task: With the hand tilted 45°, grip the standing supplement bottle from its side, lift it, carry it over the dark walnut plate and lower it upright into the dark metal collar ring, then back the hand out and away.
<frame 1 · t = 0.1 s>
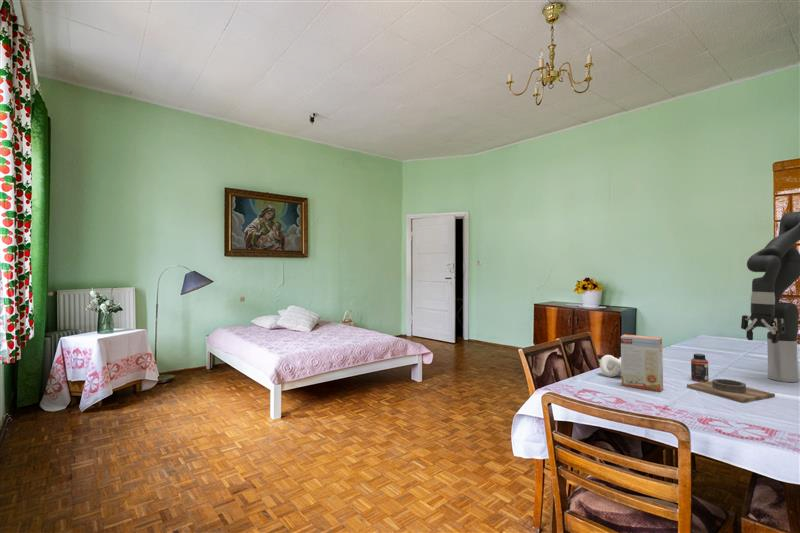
hand: (761, 341, 167), 17 cm above the table, tool pointing down, fingers open, 8 cm apart
cracker box: (642, 387, 164), on the table
supplement bottle: (699, 381, 172), on the table
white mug: (616, 377, 180), on the table
collar plate: (729, 392, 156), on the table
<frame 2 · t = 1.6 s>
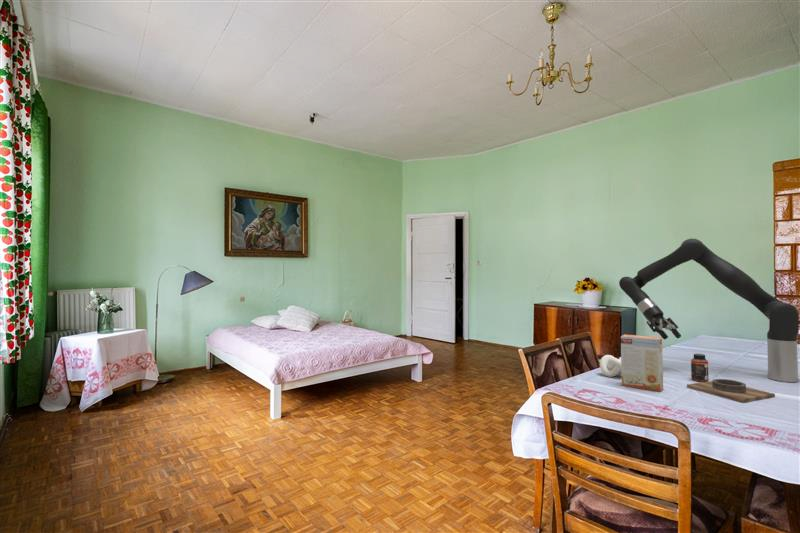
hand: (673, 337, 182), 17 cm above the table, tool tilted 45°, fingers open, 8 cm apart
nothing on the table moved.
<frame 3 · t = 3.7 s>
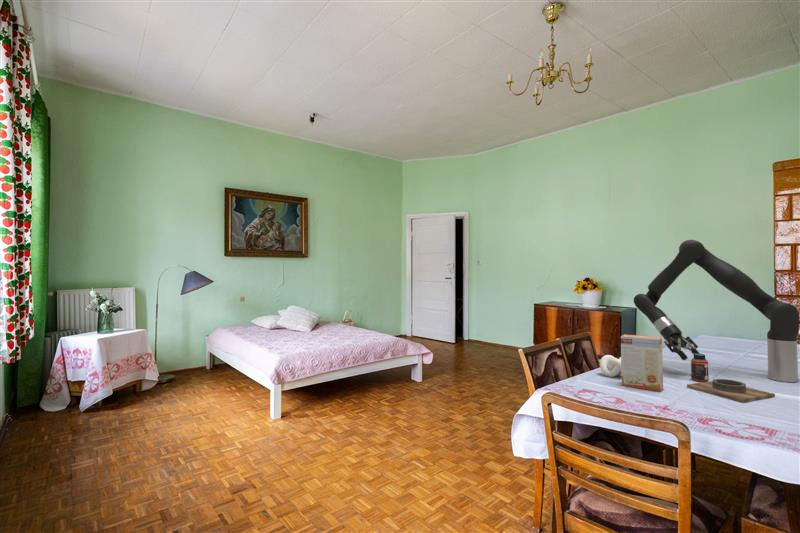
hand: (692, 358, 175), 9 cm above the table, tool tilted 45°, fingers open, 8 cm apart
nothing on the table moved.
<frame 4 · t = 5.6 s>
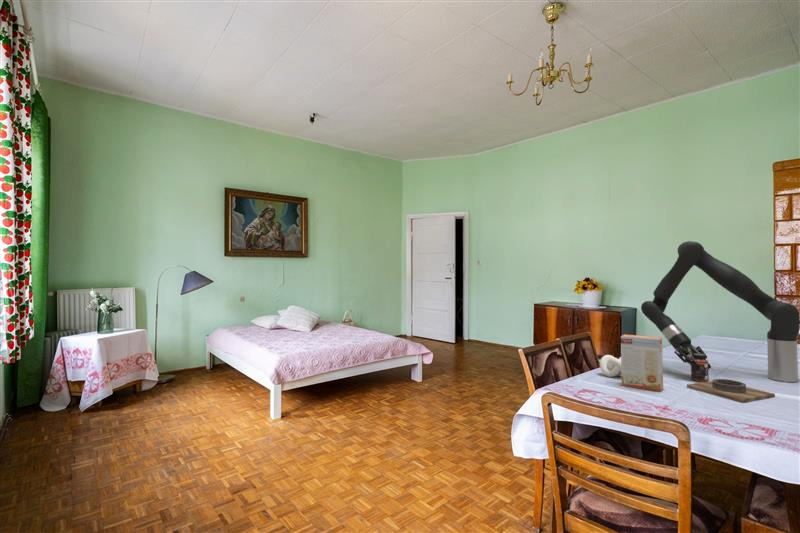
hand: (703, 369, 170), 5 cm above the table, tool tilted 45°, fingers closed on supplement bottle, 6 cm apart
supplement bottle: (699, 380, 172), on the table, touching gripper
everything else where it was.
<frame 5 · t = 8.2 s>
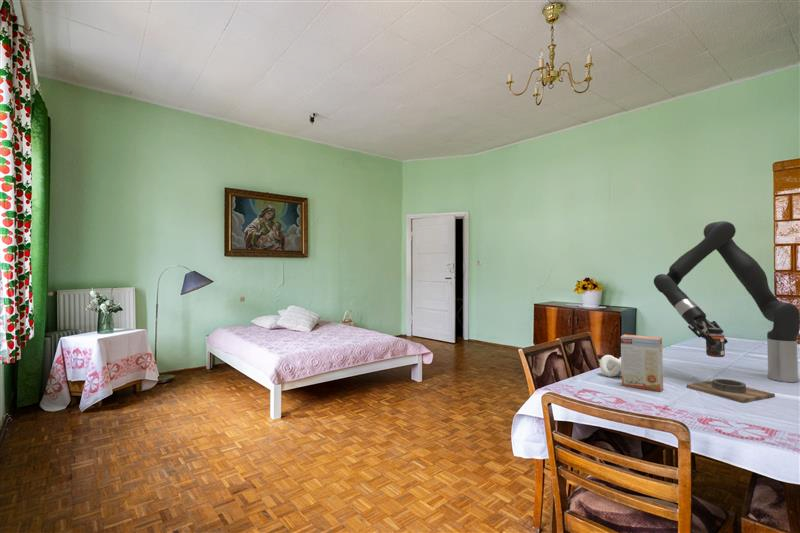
hand: (719, 343, 161), 18 cm above the table, tool tilted 45°, fingers closed on supplement bottle, 6 cm apart
supplement bottle: (715, 356, 162), point 12 cm above the table, touching gripper
everything else where it was.
when the fingers open (8 cm above the table, at t = 11.1 s): supplement bottle drops 1 cm, resting on collar plate.
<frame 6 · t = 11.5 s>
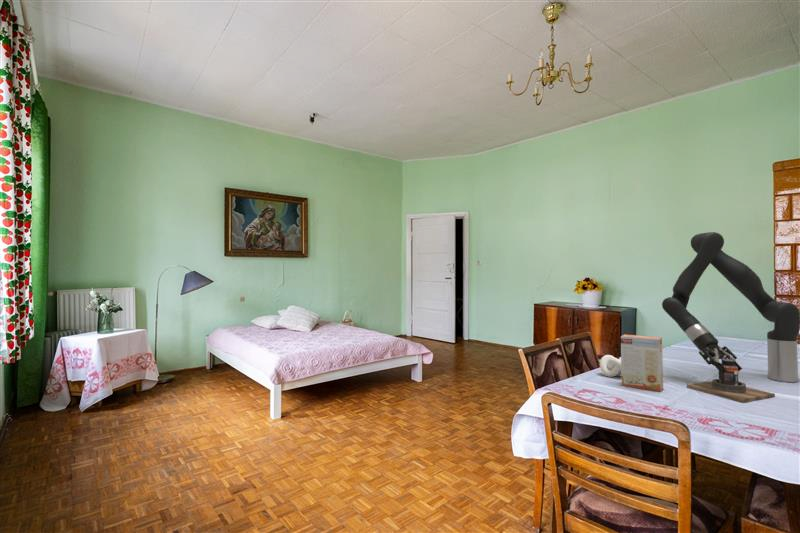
hand: (732, 371, 154), 8 cm above the table, tool tilted 45°, fingers open, 8 cm apart
supplement bottle: (728, 389, 156), point 1 cm above the table, touching collar plate
everything else where it was.
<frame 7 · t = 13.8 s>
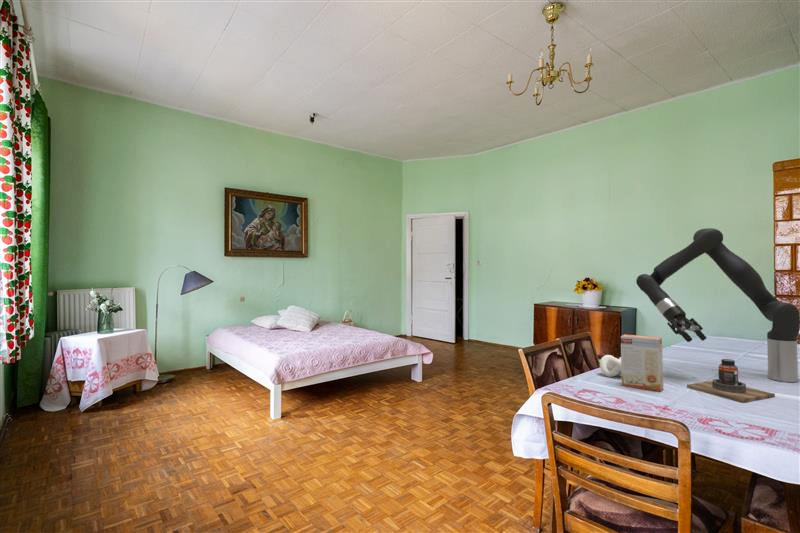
hand: (697, 340, 167), 18 cm above the table, tool tilted 45°, fingers open, 8 cm apart
nothing on the table moved.
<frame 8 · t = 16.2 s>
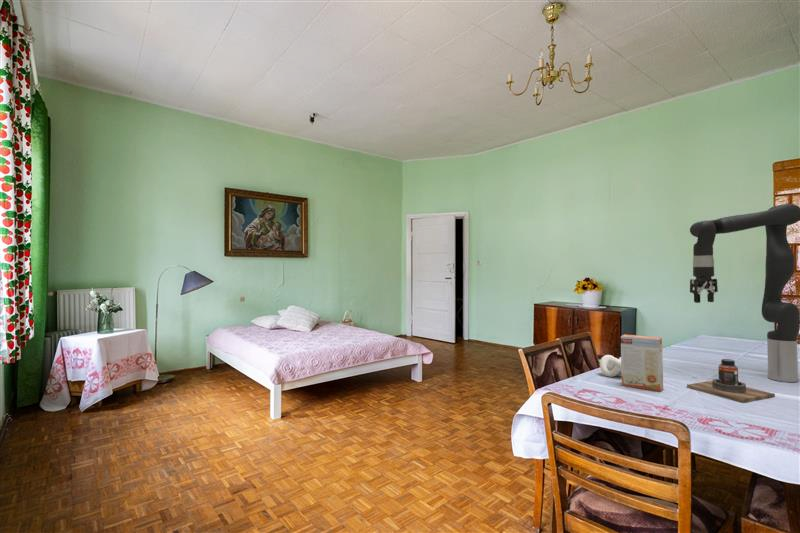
hand: (704, 302, 177), 33 cm above the table, tool pointing down, fingers open, 8 cm apart
nothing on the table moved.
at the end: supplement bottle 0.2 cm off-centre on the collar plate, point 1.0 cm above the collar plate's base; supplement bottle tilted 0°; the gripper is holding nothing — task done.
